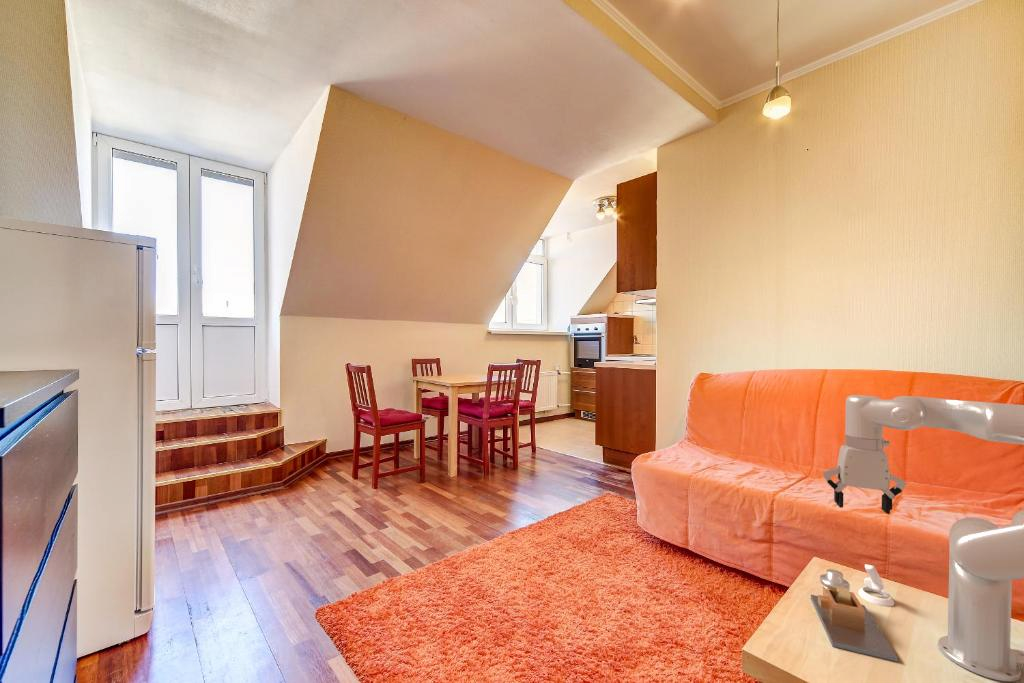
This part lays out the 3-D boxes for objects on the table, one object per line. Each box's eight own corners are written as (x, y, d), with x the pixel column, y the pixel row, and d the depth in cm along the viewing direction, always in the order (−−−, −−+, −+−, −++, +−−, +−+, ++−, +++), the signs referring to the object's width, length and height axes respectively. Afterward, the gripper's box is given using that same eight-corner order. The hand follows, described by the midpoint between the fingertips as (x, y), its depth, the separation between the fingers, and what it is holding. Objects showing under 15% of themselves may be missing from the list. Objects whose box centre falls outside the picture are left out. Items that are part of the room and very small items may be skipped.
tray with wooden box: (861, 606, 116) (862, 572, 116) (897, 662, 96) (898, 621, 96) (809, 595, 120) (809, 563, 120) (832, 646, 100) (833, 607, 100)
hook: (847, 582, 118) (848, 560, 122) (861, 610, 121) (862, 587, 125) (882, 588, 112) (881, 565, 117) (896, 617, 115) (895, 593, 120)
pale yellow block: (846, 614, 110) (847, 587, 110) (850, 623, 107) (851, 596, 107) (835, 611, 111) (835, 585, 111) (838, 620, 108) (839, 593, 108)
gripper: (899, 443, 111) (898, 509, 111) (819, 436, 117) (818, 498, 118) (913, 450, 104) (911, 520, 104) (827, 443, 111) (826, 508, 111)
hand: (862, 508), depth 111 cm, fingers open, 9 cm apart
